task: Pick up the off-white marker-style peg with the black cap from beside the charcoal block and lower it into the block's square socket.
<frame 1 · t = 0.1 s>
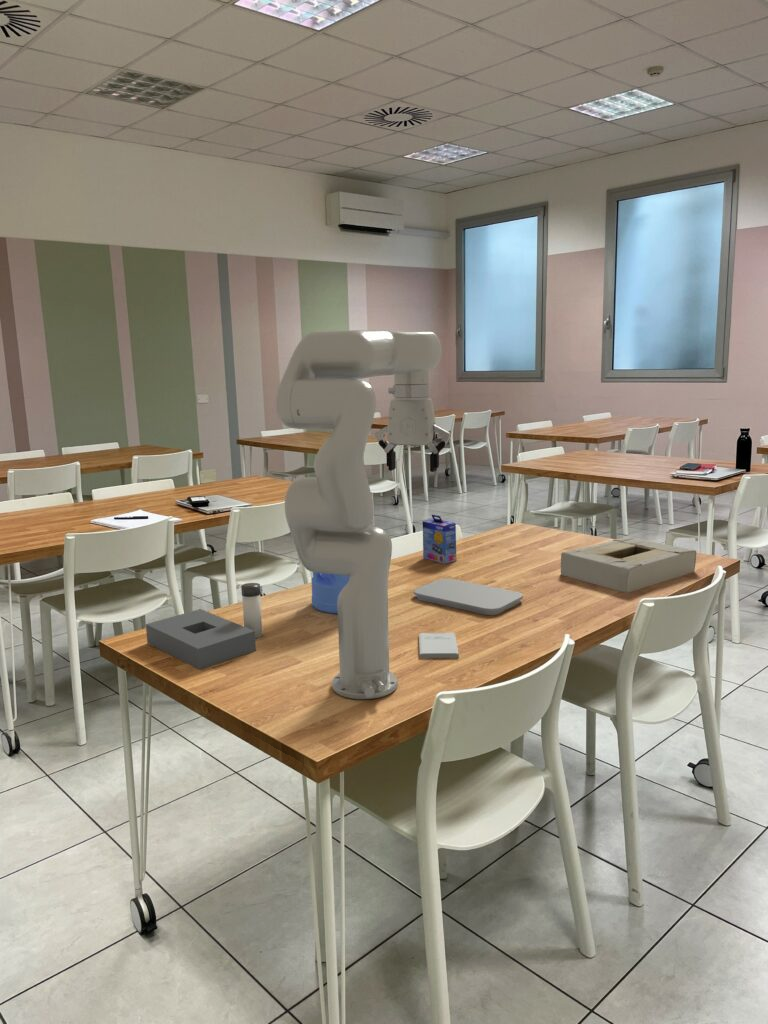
hand: (412, 470, 168), 37 cm above the table, tool pointing down, fingers open, 9 cm apart
box: (627, 575, 217), on the table
ink cartridge box: (439, 560, 236), on the table
external hard drive: (438, 650, 165), on the table
water jug: (342, 605, 195), on the table
socket block: (200, 646, 168), on the table
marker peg: (253, 635, 174), on the table
tablet: (467, 601, 197), on the table
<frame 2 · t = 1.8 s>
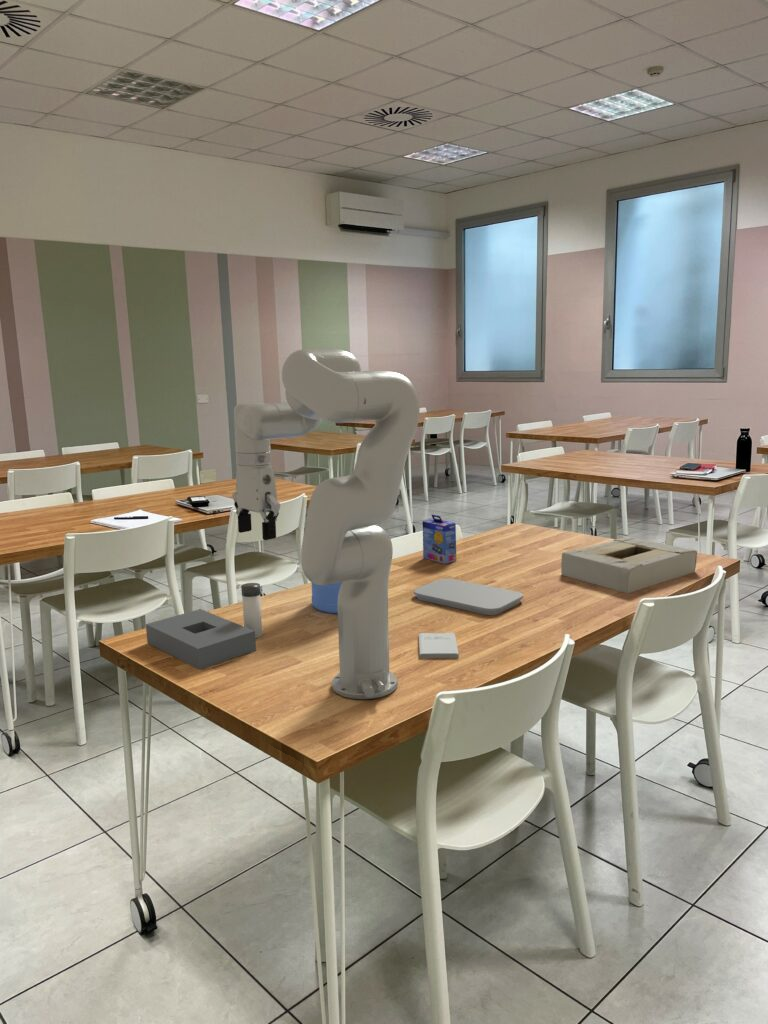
hand: (257, 535, 170), 24 cm above the table, tool pointing down, fingers open, 9 cm apart
nothing on the table moved.
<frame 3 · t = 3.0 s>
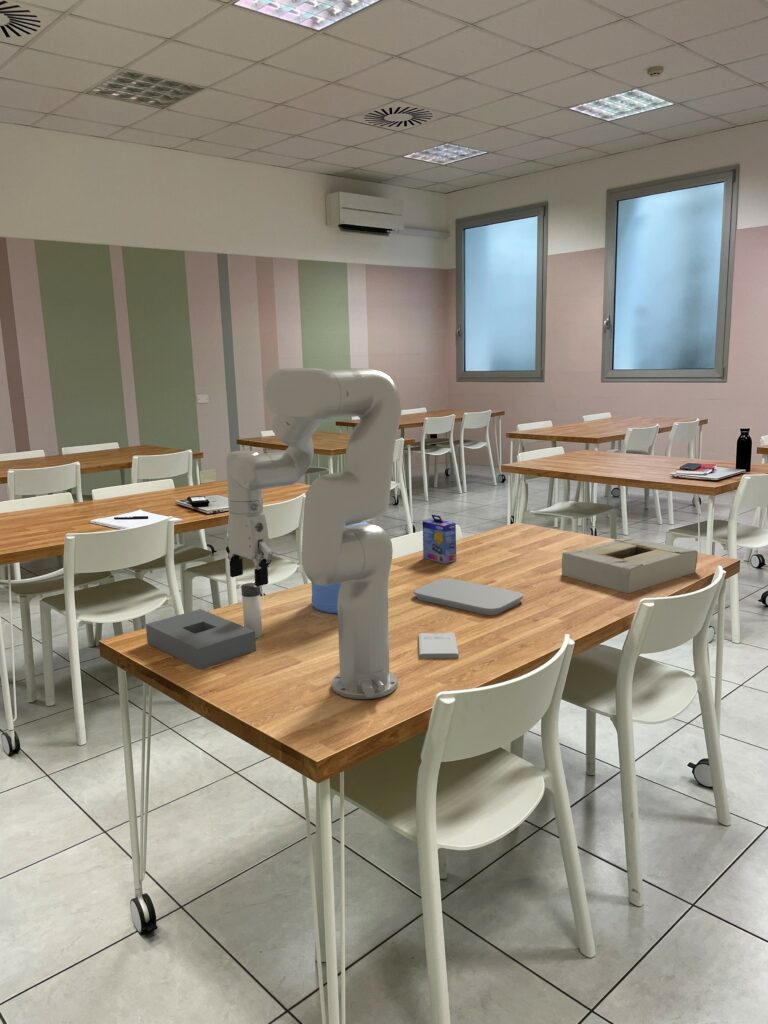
hand: (248, 580, 172), 13 cm above the table, tool pointing down, fingers open, 9 cm apart
nothing on the table moved.
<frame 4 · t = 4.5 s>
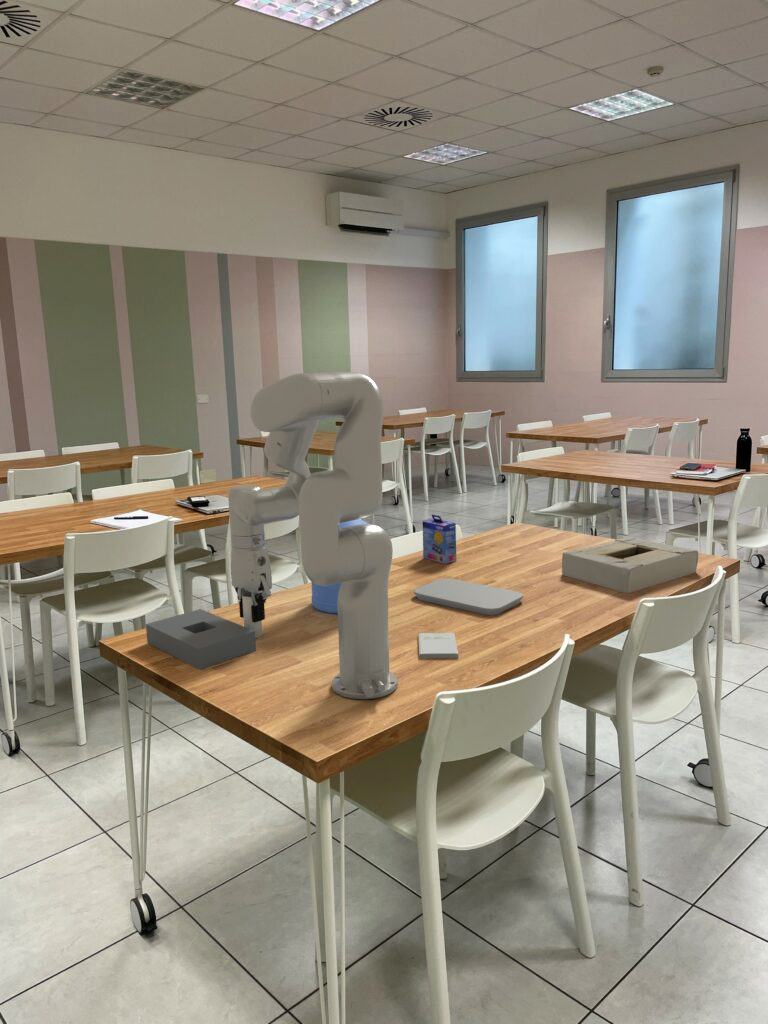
hand: (252, 617, 173), 4 cm above the table, tool pointing down, fingers closed on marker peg, 4 cm apart
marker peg: (253, 635, 174), on the table, touching gripper
everything else where it was.
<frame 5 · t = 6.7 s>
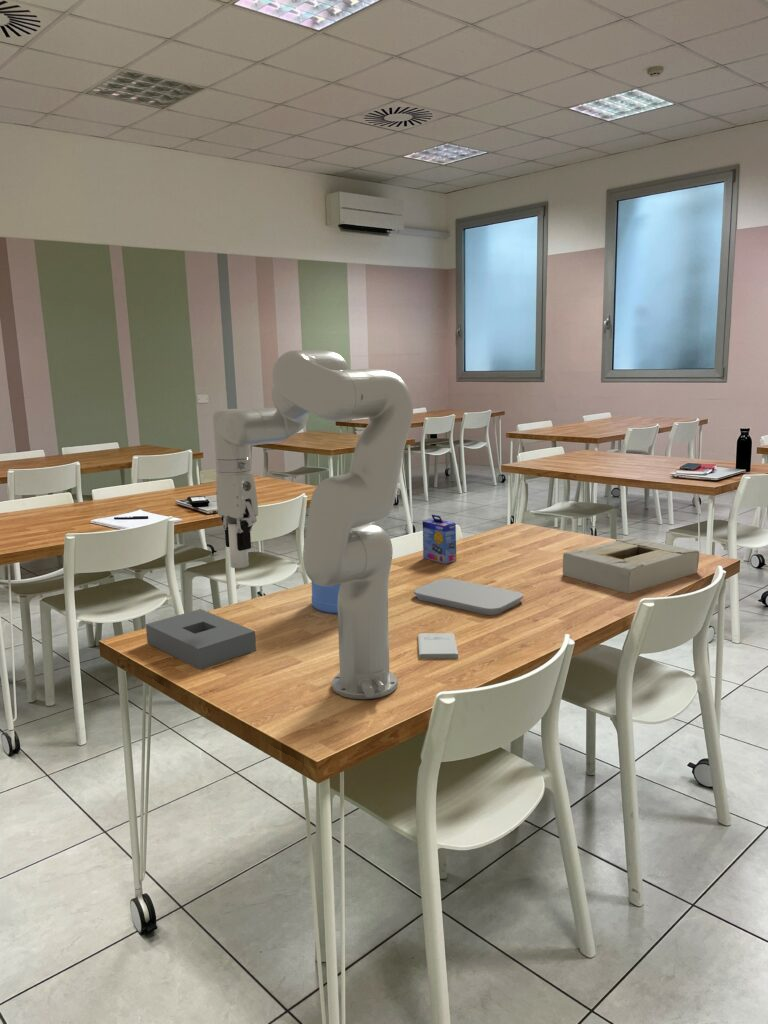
hand: (238, 546, 168), 21 cm above the table, tool pointing down, fingers closed on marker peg, 4 cm apart
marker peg: (239, 565, 169), point 17 cm above the table, touching gripper
everything else where it was.
when the fingers open (6 cm above the table, at t = 10.1 s): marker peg drops 1 cm, resting in socket block.
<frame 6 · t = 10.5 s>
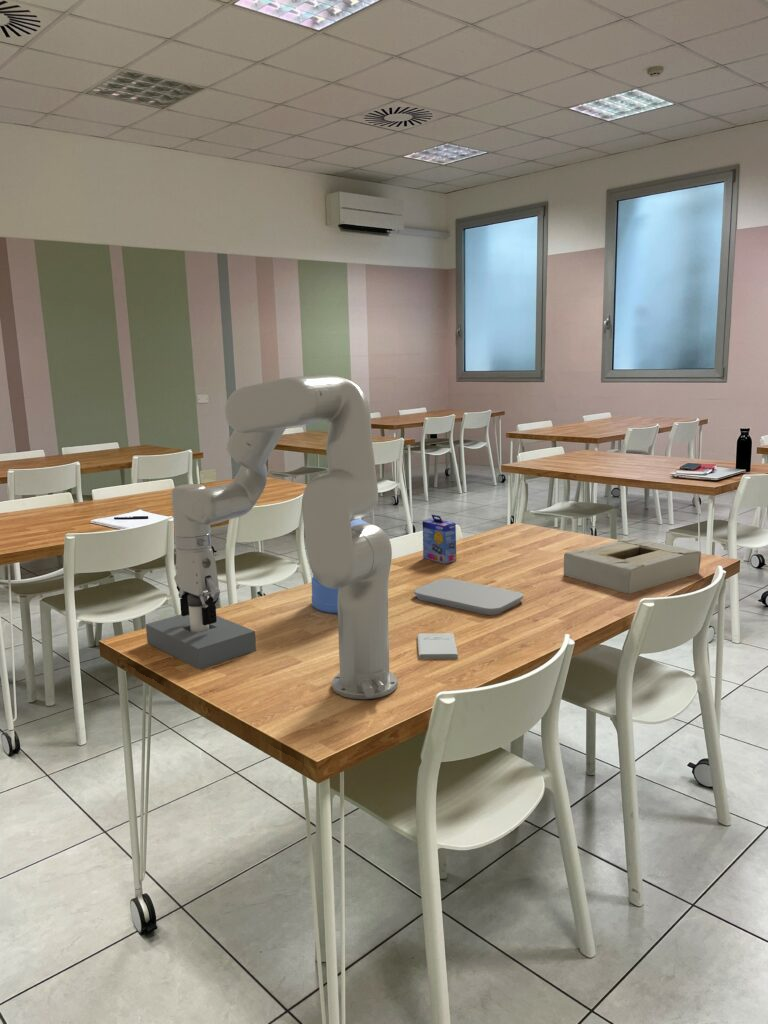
hand: (198, 618, 166), 7 cm above the table, tool pointing down, fingers open, 8 cm apart
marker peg: (201, 646, 168), resting in socket block
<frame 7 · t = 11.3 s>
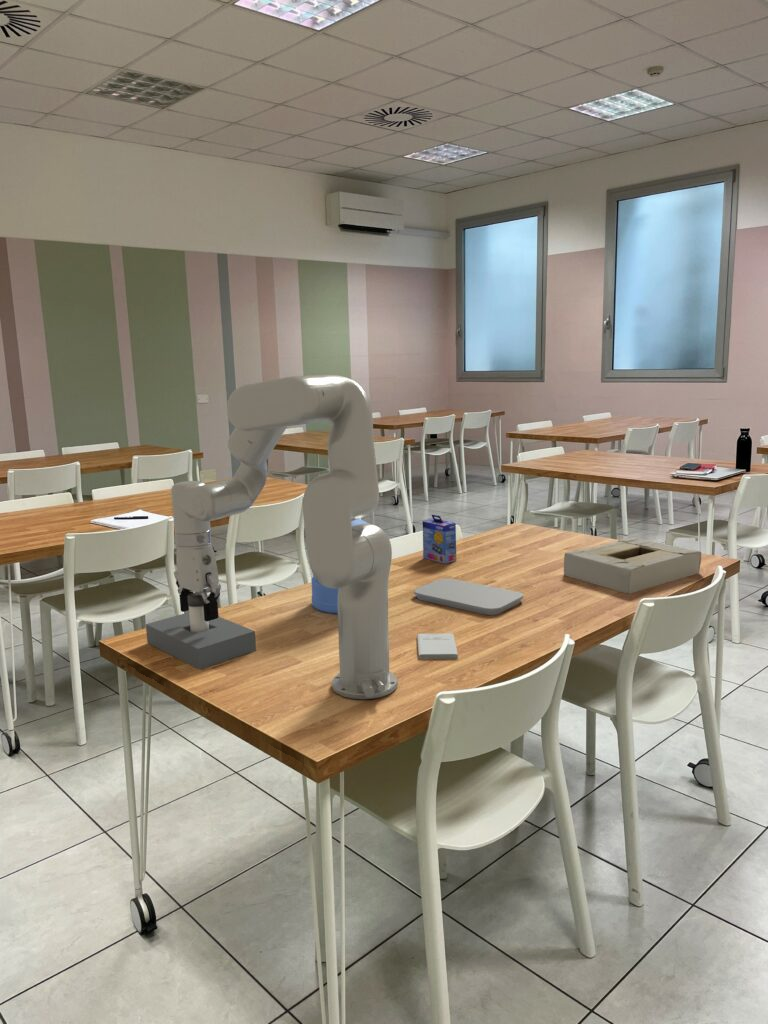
hand: (199, 614, 166), 7 cm above the table, tool pointing down, fingers open, 9 cm apart
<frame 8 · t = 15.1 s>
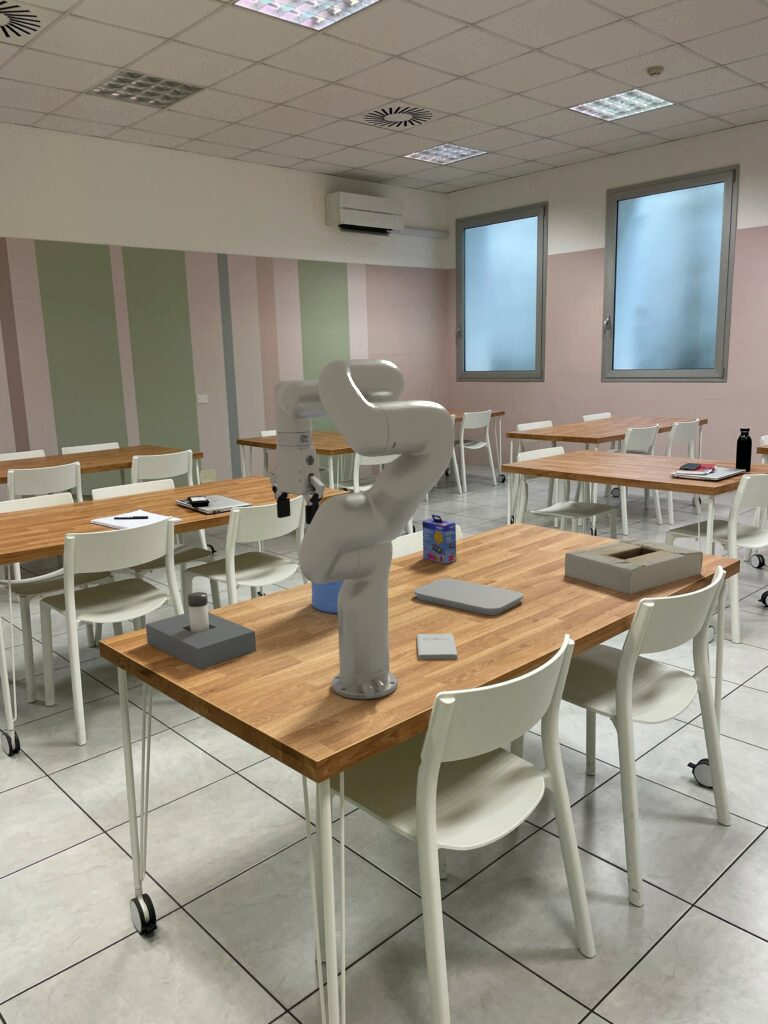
hand: (298, 520, 162), 28 cm above the table, tool pointing down, fingers open, 9 cm apart
at the end: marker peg 0.1 cm off-centre on the socket block, point 0.0 cm above the socket block's base; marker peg tilted 0°; the gripper is holding nothing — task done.
